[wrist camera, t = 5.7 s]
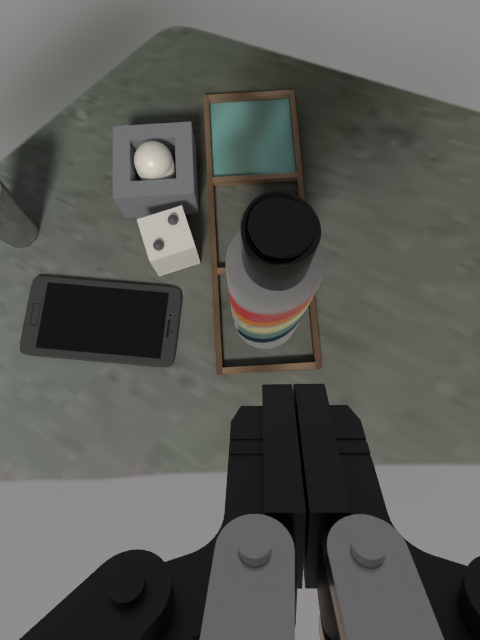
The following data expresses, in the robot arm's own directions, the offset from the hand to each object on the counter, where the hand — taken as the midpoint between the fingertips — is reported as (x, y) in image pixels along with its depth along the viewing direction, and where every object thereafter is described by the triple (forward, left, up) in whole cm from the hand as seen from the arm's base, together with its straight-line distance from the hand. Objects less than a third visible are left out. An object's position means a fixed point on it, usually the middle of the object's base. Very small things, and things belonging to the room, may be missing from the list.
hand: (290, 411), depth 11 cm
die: (+7, -15, -28) cm, 32 cm away
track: (-1, -17, -28) cm, 33 cm away
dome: (+8, -22, -27) cm, 36 cm away
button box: (+8, -22, -28) cm, 37 cm away
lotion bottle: (-1, -8, -28) cm, 29 cm away
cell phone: (+14, -9, -28) cm, 33 cm away
